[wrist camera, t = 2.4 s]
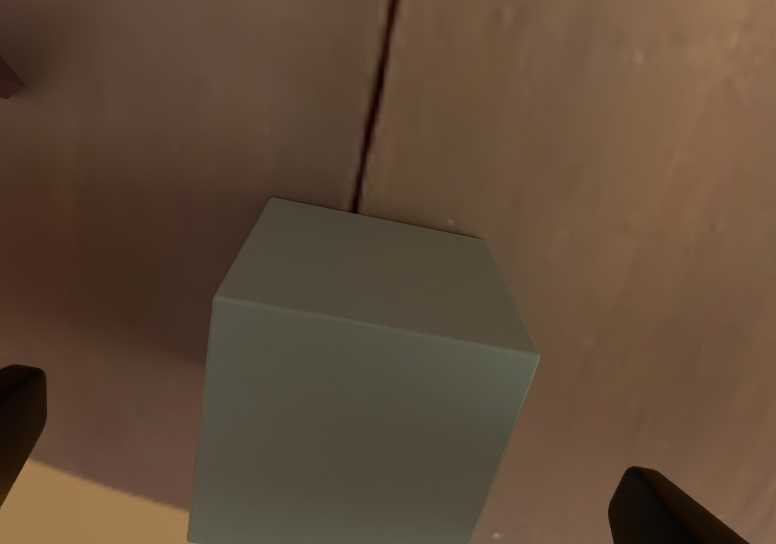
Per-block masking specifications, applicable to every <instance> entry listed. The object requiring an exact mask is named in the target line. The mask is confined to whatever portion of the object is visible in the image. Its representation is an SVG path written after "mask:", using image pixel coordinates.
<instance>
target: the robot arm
mask: <svg viewBox="0 0 776 544" xmlns="http://www.w3.org/2000/svg"><path fill="white" fill-rule="evenodd" d="M46 418H47V385H46V375H45V372H44V371H43V370H42V369H40V368H36V367H30V366H24V365H10V366H7V367H4V368H2V369H0V508H1V506H2V504H3V503H4V500H5V499H6V497H7V495H8V493H9V492H10V490H11V488H12V486H13V484H14V482H15V481H16V479H17V477H18V475H19V473H20V471H21V470H22V468H23V466H24V464H25V462H26V460H27V459H28V457H29V455H30V453H31V451H32V449H33V448H34V446H35V444H36V442H37V440H38V438H39V437H40V435H41V433H42V431H43V429H44V426H45V423H46ZM608 518H609V523H610V528H611V532H612V537H613V542H614V544H749V543H748V542H747V541H746V540H744V539H743V538H742V537H741V536H739V535H738V534H737V533H735V532H734V531H733V530H732V529H730V528H729V527H728V526H727V525H725V524H724V523H723V522H722V521H720V520H719V519H718V518H716V517H715V516H714V515H713V514H711V513H710V512H709V511H708V510H706V509H705V508H704V507H703V506H701V505H700V504H699V503H698V502H696V501H695V500H694V499H692V498H691V497H690V496H689V495H687V494H686V493H685V492H684V491H682V490H681V489H680V488H679V487H677V486H676V485H675V484H673V483H672V482H671V481H670V480H668V479H667V478H666V477H665V476H663V475H662V474H661V473H660V472H658V471H656V470H654V469H649V468H643V467H637V466H632V467H629V468H628V469H627V470H626V471H625V473H624V475H623V477H622V479H621V481H620V483H619V485H618V487H617V489H616V491H615V493H614V495H613V497H612V499H611V501H610V504H609V509H608Z"/></svg>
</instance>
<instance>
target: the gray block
mask: <svg viewBox="0 0 776 544" xmlns="http://www.w3.org/2000/svg"><path fill="white" fill-rule="evenodd" d="M539 361H540V353H539V351H538V349H537V347H536V345H535V343H534V340H533V338H532V336H531V334H530V332H529V330H528V328H527V326H526V324H525V322H524V319H523V317H522V315H521V313H520V311H519V309H518V307H517V305H516V303H515V300H514V298H513V296H512V294H511V292H510V290H509V288H508V286H507V284H506V281H505V279H504V277H503V275H502V273H501V271H500V269H499V267H498V265H497V263H496V260H495V258H494V256H493V254H492V252H491V250H490V248H489V246H488V244H487V241H485V240H483V239H478V238H473V237H468V236H463V235H458V234H453V233H448V232H443V231H438V230H433V229H428V228H423V227H418V226H414V225H409V224H404V223H399V222H394V221H389V220H384V219H379V218H374V217H369V216H364V215H359V214H354V213H349V212H344V211H339V210H334V209H329V208H324V207H319V206H314V205H309V204H304V203H299V202H294V201H289V200H284V199H279V198H274V197H272V198H270V199H269V201H268V203H267V204H266V206H265V208H264V210H263V211H262V213H261V215H260V217H259V218H258V220H257V222H256V224H255V225H254V227H253V229H252V231H251V232H250V234H249V236H248V238H247V240H246V241H245V243H244V245H243V247H242V248H241V250H240V252H239V254H238V255H237V257H236V259H235V261H234V262H233V264H232V266H231V268H230V269H229V271H228V273H227V275H226V276H225V278H224V280H223V282H222V284H221V285H220V287H219V289H218V291H217V292H216V294H215V296H214V298H213V303H212V312H211V321H210V330H209V340H208V349H207V358H206V367H205V376H204V386H203V395H202V404H201V413H200V422H199V432H198V441H197V450H196V459H195V468H194V478H193V487H192V496H191V505H190V515H189V525H188V533H187V540H188V542H190V543H197V544H471V541H472V538H473V536H474V533H475V530H476V528H477V525H478V522H479V520H480V517H481V515H482V512H483V509H484V507H485V504H486V501H487V499H488V496H489V493H490V491H491V488H492V485H493V483H494V480H495V478H496V475H497V472H498V470H499V467H500V464H501V462H502V459H503V456H504V454H505V451H506V448H507V446H508V443H509V440H510V438H511V435H512V433H513V430H514V427H515V425H516V422H517V419H518V417H519V414H520V411H521V409H522V406H523V403H524V401H525V398H526V395H527V393H528V390H529V388H530V385H531V382H532V380H533V377H534V374H535V372H536V369H537V366H538V364H539Z"/></svg>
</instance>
